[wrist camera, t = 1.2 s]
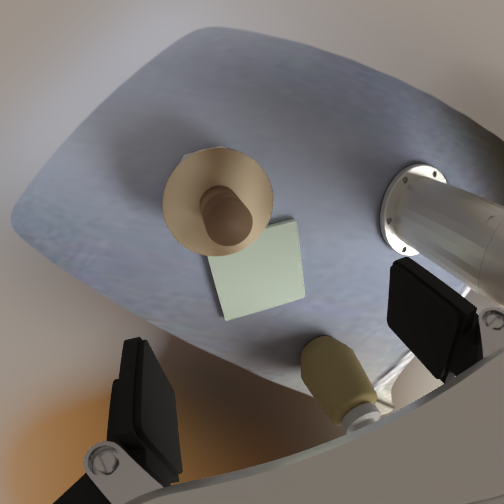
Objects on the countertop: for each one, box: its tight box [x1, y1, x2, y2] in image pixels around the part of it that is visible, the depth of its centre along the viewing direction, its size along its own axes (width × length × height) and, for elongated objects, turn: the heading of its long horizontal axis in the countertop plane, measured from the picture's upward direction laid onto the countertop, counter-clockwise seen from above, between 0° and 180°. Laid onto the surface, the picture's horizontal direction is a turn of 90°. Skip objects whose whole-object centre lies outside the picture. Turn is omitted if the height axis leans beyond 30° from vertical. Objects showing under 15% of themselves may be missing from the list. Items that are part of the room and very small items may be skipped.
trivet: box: [207, 219, 305, 321], centre depth 35 cm, size 10×10×1 cm
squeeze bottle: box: [300, 336, 381, 434], centre depth 35 cm, size 8×8×18 cm
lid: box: [162, 148, 273, 256], centre depth 23 cm, size 9×9×6 cm
